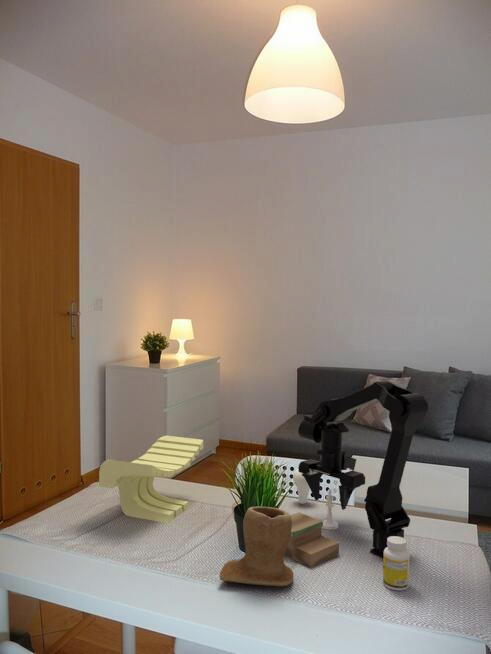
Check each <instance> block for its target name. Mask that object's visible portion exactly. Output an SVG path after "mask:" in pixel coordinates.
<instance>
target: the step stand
mask: <svg viewBox="0 0 491 654" xmlns="http://www.w3.org/2000/svg"><path fill="white" fill-rule="evenodd" d="M289 515H290V516H291V519H292V528H291V537H290V541H289V544H288V547H287V549H286V552H285V555H284V557H287V558H290V559H291V560H294V561H296V562H298V563H301V564H302V565H304V566H307V567H309V568H313V567H315V566H317V565H320V564H322V563H324V562H326V561H329V560H330V559H333V558H335V557H337V556H340V542H338V541H336V540H334V539H332V538H330V537H326V536H325V535H322V531H323V528H322V527H323V520H319V519H317V518H315V517H312V516H309V515H307V514H305V513H302V512H296V513H293V514H289Z"/></svg>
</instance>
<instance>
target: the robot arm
mask: <svg viewBox="0 0 491 654" xmlns="http://www.w3.org/2000/svg"><path fill="white" fill-rule="evenodd" d="M377 401H378V402H379V403H380V405H381V406H382V408H384V409H385V410H387V411H388V413H389V414H388V419H389V422H390V426H391V432H390V436H389V440H388V444H387V447H386V452H385V455H384V459H383V464H382V466H381V471H380V475H379V480H378V482H377V484H373V485H369V486H367V489H366V495H365V498H364V499H363V502H365V506H364V509H365V511H366V516H367V520H368V524H369V525H368V526H369V528H370V529H371V530H372V548H370V549H369V553H371V554H375V555H376V556H378V557H381V558H383V555H384V549H385V548H386V547H388V546H387V538H388V537H391V536H398V537H402V538H404V539H405V529H404V528H408V527H409V526H410V523H411V519H410V517H409V515H408V513H407V512H406V510H405V508H404V506H403V495H402V491H401V488H400V487H401V483H402V479H403V475H404V470H405V467H406V463H407V460H408V456H409V452H410V448H411V444H412V441H413V436H414V434H415V433H416V432H417V431H416V430H418V429H419V428H420V426H421V425H422V424H423V422H424V421H425V418H426V415H427V413H428V410H429V403H428V402H427V400H426V398H425V396H424V395H422V394H420V393H415V392H413V391H411V390H410V389H409V390H408V389H406V388H405V387H404V388H403V387H401V386H398V385H396V384H394V383H393V382H392V381H388V380H382V381H375V382H372V384H370V385H367V386H366V387H363V388H361V389H359V390H357V391H354V392H351V393H350V394H348V395H345V396H343V397H339V398H332V399H331V398H330V399H326V400H322V401H320V402H319V403H318V404H317V405H318V407H317V408H316V411H315V412H314V413H313V415H310V414H307V415H304V416H303V420H302V421H301V422H300V423H299V426H298V431H297V432H298V435H299V437H300V438H301V439H303V440H306V441H310V442H313V443H317V444H320V449H318V450H317V455H319V456H320V458H319V460H318V459H317V460H316V459H313V458H310V459H306V460H302V461H300V462H299V464H298V468H299V472H300V473H303V474H302V476H304V478H305V480H306V482H307V483H308V485H309V487H310V489H309V490H310V492H311V494H312V496H313V498H314V500H315V501H319V499H320V491H321V490H320V489H321V487H320V485H321V478H322V476H323V475H324V476H328V477H331V478H335V479H338V480H339V484H340V485H338V490H339V491H338V492H339V501H340V507H341V510H346V509H347V506H348V504H349V501H350V499H351V496H352V494H353V492H354V490H355V489H356V488H360V487H361V486H363V485H366V476H365V475H364V473H362V472H360V471H356V470H355V468H356V463H357V458H354V457H351V456H348V455H346V454H347V453H346V452H347V451H346V450H344V449H343V434H344V433H349V432H350V429H349V427H347V426H346V425H345V424H344V422H339V421H344V420H345V419H347V418H348V417H349V416H351V414H353V412H354V411H356V410H358V409H360V408H363V407H366V406H368V405H370V404H373V403H376V402H377ZM336 422H337V423H336ZM348 469H349V470H350V471H347V470H348ZM343 471H345V472H343Z"/></svg>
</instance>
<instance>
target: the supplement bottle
mask: <svg viewBox="0 0 491 654" xmlns="http://www.w3.org/2000/svg"><path fill="white" fill-rule="evenodd" d="M387 546H388V547H386V548H385V549H384V555H383V557H382V558H383V559H382V560H383V562H382V563H383V567H382V569H383V570H382V571H383V572H382V582H383V585H384V586H385V587H386V589H387V588H388V589H389V590H393V591H399V592H400V591H405V590H408V588H409V587H410V571H411V570H410V564H411V563H410V562H411V557H410V556H411V555H410V552H409V550H408V549H407V539H406V538H405V537H404V538H402V537H398V536H391V537H388V538H387Z"/></svg>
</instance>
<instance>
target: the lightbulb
mask: <svg viewBox="0 0 491 654" xmlns="http://www.w3.org/2000/svg"><path fill="white" fill-rule="evenodd" d="M302 474H303V473H300V472H299V467H298V468H297V469H295V471H294V472H293V474H292V480H293V483H294V485H295V487H296V489H297V495H298V503H299V504H301V505H305V504H306V503H308V497H309V492H310V490H311V489H310V487H309V485H308V483H307V482H306V480H305V478H304V476H302Z"/></svg>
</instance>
